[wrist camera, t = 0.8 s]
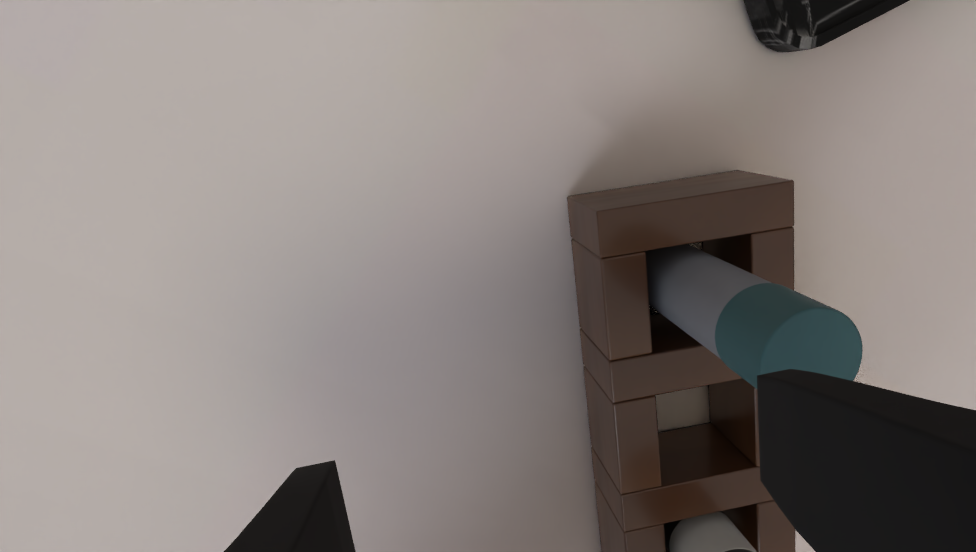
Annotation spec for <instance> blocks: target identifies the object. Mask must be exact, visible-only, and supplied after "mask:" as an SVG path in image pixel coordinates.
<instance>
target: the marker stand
mask: <svg viewBox="0 0 976 552" xmlns="http://www.w3.org/2000/svg"><path fill="white" fill-rule="evenodd" d="M567 202H568V212H569V223H570V233H571V237H572V251H573V261H574V272H575V282H576V292H577V303H578V313H579V323H580V327H581V328H580V336H581V346H582V356H583V364H584V376H585V386H586V397H587V407H588V417H589V428H590V438H591V445H592V447H591V449H592V460H593V470H594V479H595V489H596V499H597V509H598V520H599V530H600V540H601V551H602V552H669V551H668V549H667V547H666V546H665V532H664V524H663V523H668V522H673V521H677V520H682V519H687V518H691V517H696V516H701V515H705V514H710V513H715V512H719V511H723V513H724V514H725V515H726V516H727V517H728V518H729V519H730V520H731V521H732V523H733V524H734V525H735V526H736V527H737V529H738V530H739V531H740V532H741V533H742V535H743V536H744V537H745V538H746V539H747V541H748V542H749V543H750V544H751V545H752V547H753V548H754V549H755V550H756V551H757V552H795V528H794V527H793V526H792V524H791V523H790V522H789V520H788V519H787V517H786V516H785V515H784V513H783V512H782V511H781V509H780V508H779V507H778V505H777V504H776V502H775V501H774V499H773V498H772V497H771V495H770V494H769V492H768V491H767V489H766V488H765V486H764V485H763V483H762V482H761V481H760V453H759V424H758V395H757V389H756V388H755V387H753V386H752V385H751V384H750V383H748V382H747V381H746V380H744V379H743V378H742V377H740V376H739V375H738V374H736V373H735V372H734V371H732V370H731V369H730V368H729V367H728V366H726V365H725V363H724V362H723V361H722V360H721V359H720V358H719V357H718V356H716V355H715V354H714V353H712V352H711V351H710V350H708V349H707V348H706V347H704V346H703V345H702V344H700V343H699V342H698V341H696V340H695V339H694V338H692V337H691V336H690V335H688V334H687V333H686V332H684V331H683V330H682V329H680V328H679V327H678V326H676V325H675V324H674V323H673V322H671V321H670V320H669V319H667V318H666V317H665V316H663V315H662V314H657V315H652V316H650V308H649V293H648V278H647V263H646V253H645V251H648V250H654V249H660V248H666V247H672V246H678V245H684V244H690V243H696V242H702V241H703V251H704V252H706V253H708V254H710V255H712V256H714V257H717V258H719V259H721V260H723V261H725V262H727V263H730V264H732V265H734V266H736V267H738V268H741V269H743V270H745V271H747V272H749V273H751V274H754V275H756V276H758V277H760V278H762V279H764V280H767V281H769V282H771V283H774V284H779V285H782V286H785V287H787V288H789V289H792V290H794V228H793V226H794V181H793V180H788V179H783V178H777V177H772V176H766V175H761V174H756V173H750V172H745V171H739V170H736V171H729V172H723V173H716V174H710V175H703V176H696V177H690V178H683V179H677V180H670V181H664V182H657V183H651V184H644V185H638V186H631V187H625V188H618V189H612V190H605V191H599V192H592V193H586V194H579V195H573V196H568V197H567ZM706 385H709V397H710V420H711V423H707V424H702V425H697V426H692V427H687V428H682V429H677V430H672V431H667V432H662V433H658V425H657V410H656V397H655V395H659V394H664V393H669V392H674V391H680V390H685V389H690V388H695V387H701V386H706Z"/></svg>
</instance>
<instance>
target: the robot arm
mask: <svg viewBox="0 0 976 552" xmlns="http://www.w3.org/2000/svg"><path fill="white" fill-rule="evenodd" d="M757 395H758V424H759V453H760V481H761V482H762V483H763V485H764V486H765V488H766V489H767V491H768V492H769V494H770V495H771V497H772V498H773V499H774V501H775V502H776V504H777V505H778V507H779V508H780V509H781V511H782V512H783V513H784V515H785V516H786V517H787V519H788V520H789V522H790V523H791V524H792V526H793V527H794V528H795V529H796V530H797V532H798V533H799V534H800V535H801V536H802V537H803V538H804V539H805V540H806V542H807V543H808V544H809V545H810V546H811V547H812V548H813V549H814V550H815V551H816V552H976V410H971V409H967V408H962V407H957V406H953V405H948V404H944V403H940V402H935V401H931V400H927V399H923V398H919V397H914V396H910V395H906V394H902V393H898V392H894V391H890V390H886V389H882V388H878V387H874V386H870V385H866V384H862V383H858V382H854V381H850V380H846V379H842V378H838V377H834V376H829V375H825V374H820V373H815V372H810V371H804V370H796V369H787V370H782V371H777V372H772V373H767V374H762V375H757ZM224 552H355V547H354V543H353V539H352V534H351V530H350V525H349V521H348V516H347V512H346V507H345V503H344V499H343V494H342V490H341V485H340V481H339V476H338V472H337V467H336V463H335V460H334V461H329V462H325V463H320V464H315V465H310V466H305V467H300V468H296V469H295V470H294V471H293V472H292V473H291V475H290V476H289V477H288V478H287V479H286V480H285V482H284V483H283V484H282V485H281V486H280V487H279V489H278V490H277V491H276V492H275V494H274V495H273V496H272V497H271V498H270V500H269V501H268V502H267V503H266V504H265V506H264V507H263V508H262V509H261V510H260V511H259V513H258V514H257V515H256V516H255V517H254V518H253V520H252V521H251V522H250V523H249V524H248V525H247V526H246V528H245V529H244V530H243V531H242V532H241V533H240V535H239V536H238V537H237V538H236V539H235V540H234V541H233V543H232V544H231V545H230V546H229V547H228V548H227V549H226V550H225V551H224Z"/></svg>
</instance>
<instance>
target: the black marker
mask: <svg viewBox="0 0 976 552" xmlns="http://www.w3.org/2000/svg"><path fill="white" fill-rule="evenodd" d="M663 524H664V532H665V546H666V547H667V549H668V551H669V552H757V551H756V550H755V549H754V548H753V547H752V545H751V544H750V543H749V542H748V541H747V539H746V538H745V537H744V536H743V535H742V533H741V532H740V531H739V530H738V529H737V527H736V526H735V525H734V524H733V523H732V521H731V520H730V519H729V518H728V517H727V516H726V515H725V514H724V513H723V511H719V512H715V513H710V514H705V515H701V516H696V517H691V518H687V519H682V520H677V521H673V522H668V523H663Z"/></svg>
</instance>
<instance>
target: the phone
mask: <svg viewBox="0 0 976 552" xmlns="http://www.w3.org/2000/svg"><path fill="white" fill-rule="evenodd" d="M907 1H909V0H744V3H745V6H746V9H747V12H748V15H749V17H750V20H751V23H752V26H753V29H754V31H755V33H756V35H757V37H758V39H759V40H760V41H761V42H762V43H763V44H764V45H765V46H766V47H767V48H770V49H772V50H775V51H777V52H792V51H800V50H808V49H813V48H816V47H819V46H822V45H824V44H826V43H828V42H830V41H832V40H834V39H836V38H838V37H840V36H841V35H843V34H845V33H847V32H849V31H851V30H853V29H855V28H857V27H859V26H861V25H863V24H865V23H867V22H869V21H871V20H872V19H874V18H876V17H878V16H880V15H882V14H884V13H886V12H888V11H890V10H892V9H894V8H896V7H898V6H900V5H902V4H904V3H905V2H907Z"/></svg>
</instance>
